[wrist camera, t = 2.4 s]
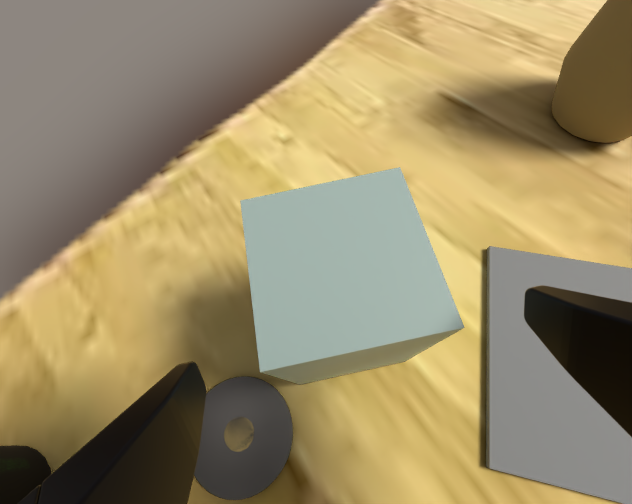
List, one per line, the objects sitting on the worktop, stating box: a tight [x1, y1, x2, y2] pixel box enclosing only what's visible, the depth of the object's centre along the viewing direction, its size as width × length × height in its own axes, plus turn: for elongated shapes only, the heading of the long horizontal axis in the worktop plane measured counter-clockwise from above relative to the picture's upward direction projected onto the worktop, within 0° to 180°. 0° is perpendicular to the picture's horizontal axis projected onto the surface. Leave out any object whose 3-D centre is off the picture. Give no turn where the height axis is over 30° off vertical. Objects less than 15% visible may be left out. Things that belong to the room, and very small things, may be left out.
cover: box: [241, 168, 464, 385], centre depth 15 cm, size 6×6×10 cm
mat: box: [486, 246, 632, 504], centre depth 17 cm, size 12×12×1 cm
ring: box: [194, 377, 293, 500], centre depth 17 cm, size 6×6×1 cm
